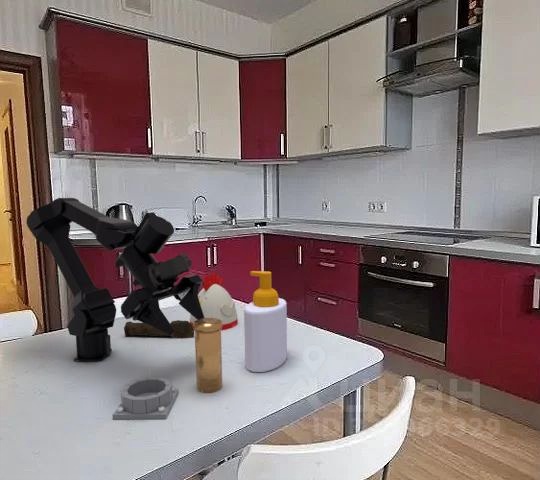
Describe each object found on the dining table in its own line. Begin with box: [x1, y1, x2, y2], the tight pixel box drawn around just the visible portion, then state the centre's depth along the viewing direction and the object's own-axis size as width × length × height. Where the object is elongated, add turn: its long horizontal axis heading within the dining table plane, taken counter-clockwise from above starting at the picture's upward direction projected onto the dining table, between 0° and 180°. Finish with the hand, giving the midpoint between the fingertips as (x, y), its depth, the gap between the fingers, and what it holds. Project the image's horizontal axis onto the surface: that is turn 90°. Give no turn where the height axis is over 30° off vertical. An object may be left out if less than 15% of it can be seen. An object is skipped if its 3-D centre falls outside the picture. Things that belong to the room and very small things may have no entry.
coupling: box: [193, 318, 223, 394], centre depth 78 cm, size 5×5×13 cm
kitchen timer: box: [189, 272, 239, 331], centre depth 118 cm, size 14×14×15 cm
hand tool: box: [123, 319, 195, 339], centre depth 108 cm, size 19×4×5 cm, turn 80°
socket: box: [112, 376, 180, 420], centre depth 72 cm, size 9×9×3 cm
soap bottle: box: [243, 270, 288, 373], centre depth 90 cm, size 13×8×20 cm, turn 154°
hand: (188, 326), depth 80 cm, fingers open, 9 cm apart
